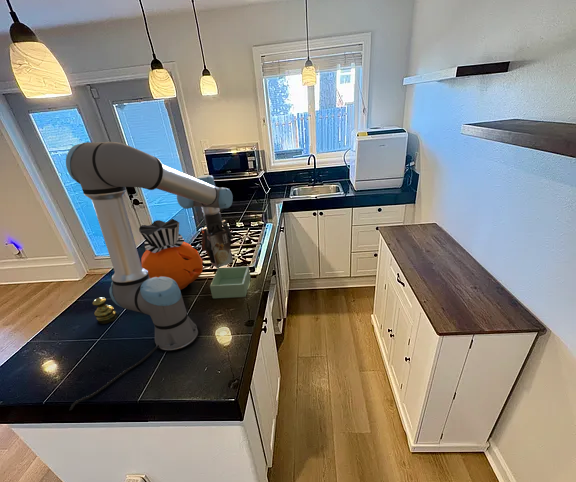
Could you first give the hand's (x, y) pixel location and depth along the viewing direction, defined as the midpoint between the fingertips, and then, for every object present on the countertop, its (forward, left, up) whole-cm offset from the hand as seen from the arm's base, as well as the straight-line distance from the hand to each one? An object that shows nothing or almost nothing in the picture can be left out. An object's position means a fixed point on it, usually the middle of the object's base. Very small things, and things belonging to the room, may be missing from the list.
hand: (221, 258), depth 152 cm
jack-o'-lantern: (-20, +10, -8) cm, 24 cm away
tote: (-8, -15, -8) cm, 19 cm away
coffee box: (0, 0, -3) cm, 3 cm away
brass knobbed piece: (-54, +11, -8) cm, 55 cm away
